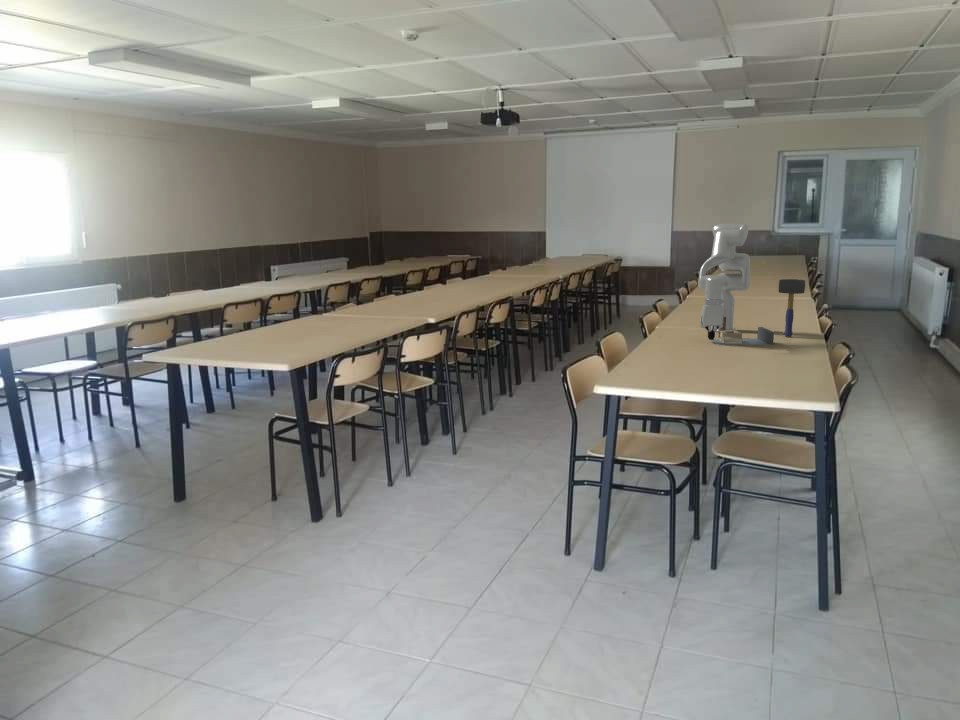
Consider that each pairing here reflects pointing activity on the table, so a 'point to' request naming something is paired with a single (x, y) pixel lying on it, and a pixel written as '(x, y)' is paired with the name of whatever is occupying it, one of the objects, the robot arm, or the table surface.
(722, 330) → the dowel
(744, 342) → the jig board
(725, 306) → the robot arm
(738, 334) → the socket block
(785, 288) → the rubber mallet
